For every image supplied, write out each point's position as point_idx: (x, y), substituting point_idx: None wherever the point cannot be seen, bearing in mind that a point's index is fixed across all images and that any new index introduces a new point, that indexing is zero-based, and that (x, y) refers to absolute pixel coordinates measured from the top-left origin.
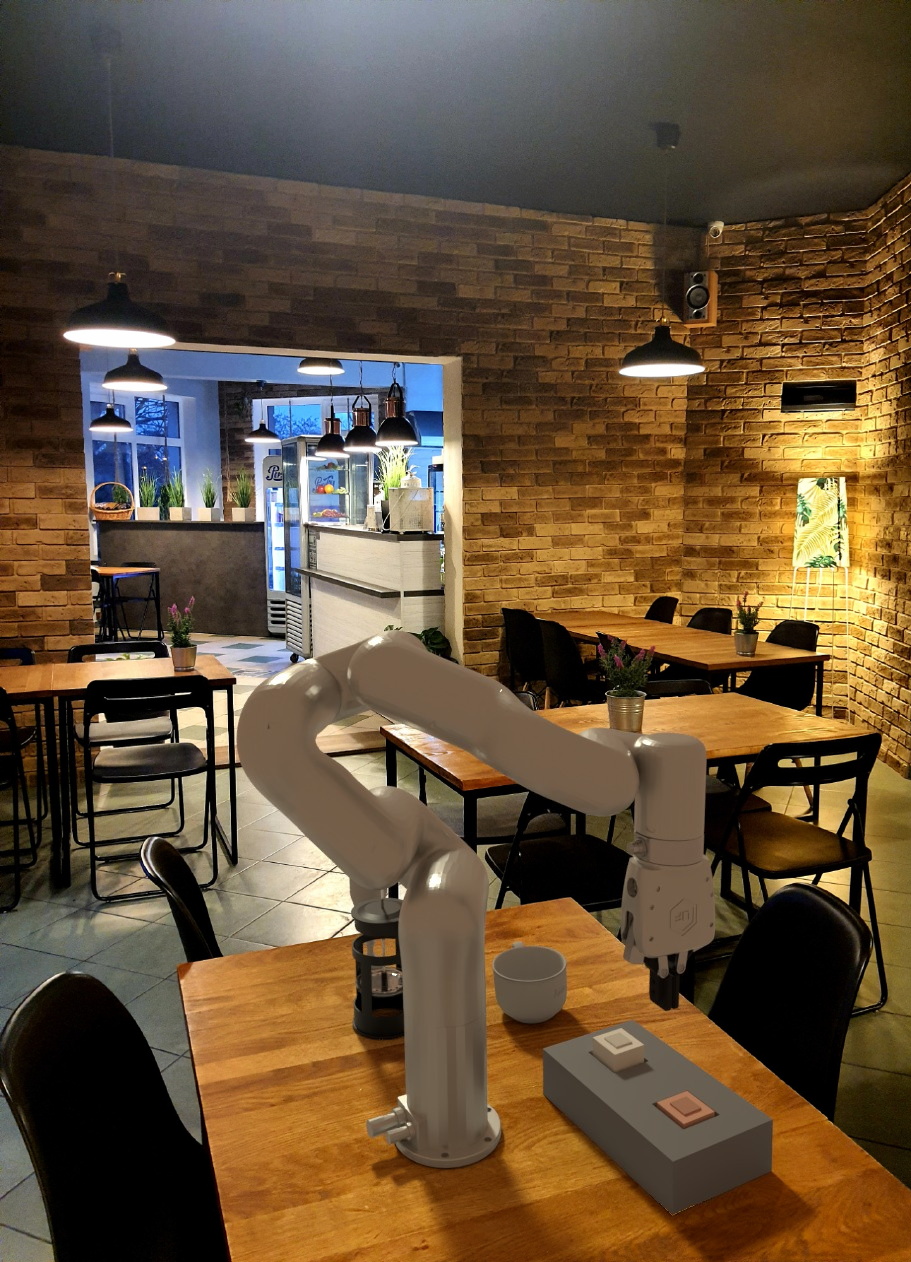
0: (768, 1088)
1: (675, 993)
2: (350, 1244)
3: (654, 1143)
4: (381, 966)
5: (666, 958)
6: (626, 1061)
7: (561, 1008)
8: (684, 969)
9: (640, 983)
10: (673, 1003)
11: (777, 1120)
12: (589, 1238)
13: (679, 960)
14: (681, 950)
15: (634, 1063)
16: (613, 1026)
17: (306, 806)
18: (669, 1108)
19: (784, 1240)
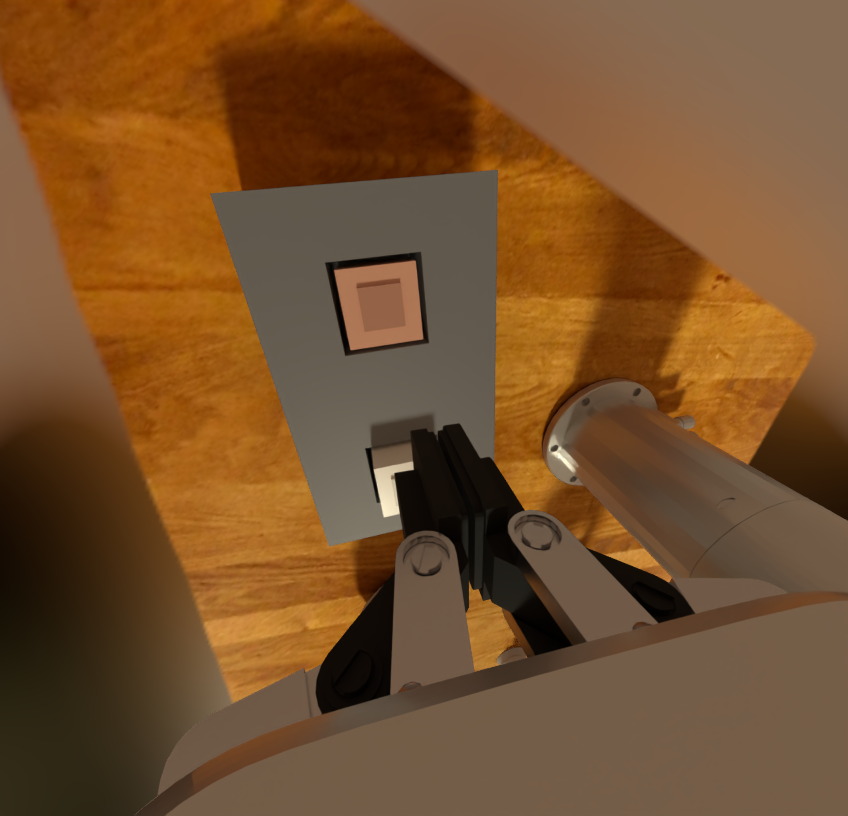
0: (137, 396)
1: (439, 459)
2: (760, 311)
3: (493, 237)
4: (508, 662)
5: (571, 607)
6: (410, 449)
7: (376, 592)
8: (399, 549)
9: (232, 632)
10: (434, 439)
11: (162, 318)
12: (581, 202)
13: (452, 597)
14: (587, 668)
15: (392, 447)
16: (368, 535)
17: None
18: (412, 314)
19: (322, 20)
